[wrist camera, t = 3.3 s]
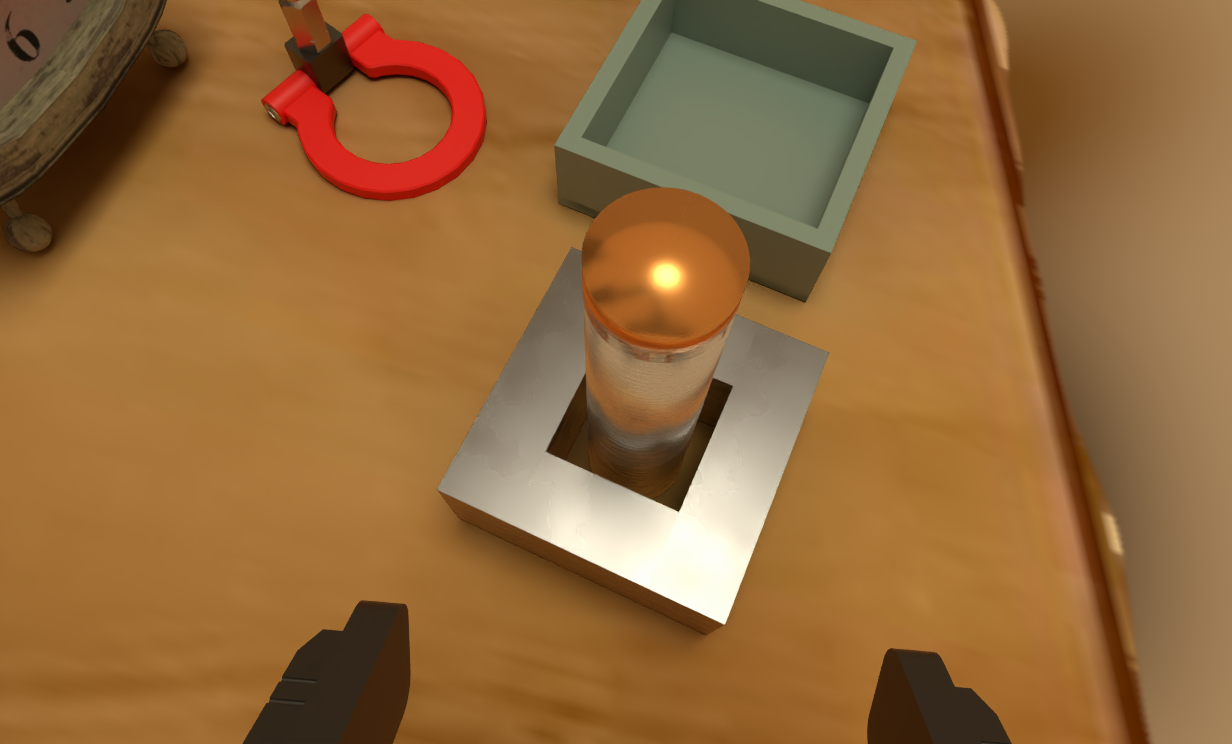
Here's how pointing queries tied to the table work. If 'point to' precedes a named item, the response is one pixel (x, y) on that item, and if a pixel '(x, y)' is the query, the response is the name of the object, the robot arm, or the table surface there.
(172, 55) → the tabletop clock
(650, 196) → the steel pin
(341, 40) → the tow hook
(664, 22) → the tray
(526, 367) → the block
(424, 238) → the table surface
